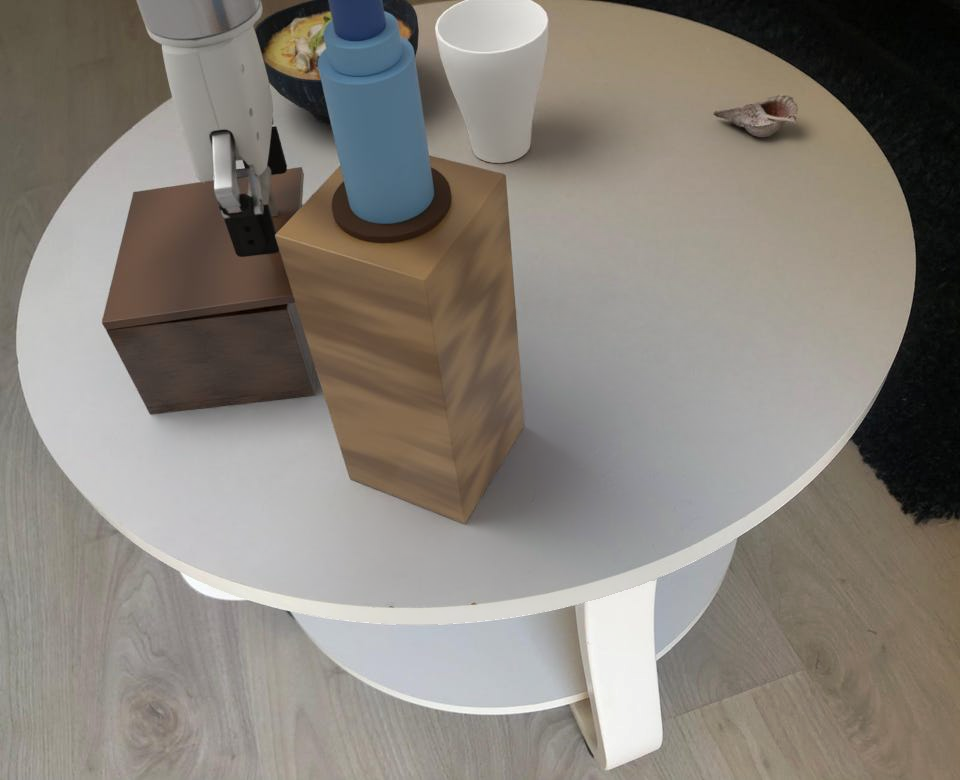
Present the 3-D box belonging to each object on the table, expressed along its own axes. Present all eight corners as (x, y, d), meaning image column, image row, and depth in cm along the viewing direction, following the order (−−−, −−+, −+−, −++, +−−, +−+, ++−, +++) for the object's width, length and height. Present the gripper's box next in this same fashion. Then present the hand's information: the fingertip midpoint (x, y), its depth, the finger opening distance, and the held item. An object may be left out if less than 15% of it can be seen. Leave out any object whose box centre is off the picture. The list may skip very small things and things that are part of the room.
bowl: (272, 73, 114) (250, -10, 106) (420, 52, 114) (408, -33, 107) (271, 161, 103) (246, 75, 95) (435, 137, 103) (423, 50, 96)
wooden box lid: (304, 174, 83) (287, 119, 79) (296, 302, 73) (276, 247, 69) (136, 199, 84) (111, 146, 80) (105, 330, 74) (74, 277, 70)
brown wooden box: (319, 267, 91) (296, 181, 84) (314, 395, 81) (287, 310, 74) (173, 284, 91) (136, 199, 84) (149, 414, 81) (105, 330, 74)
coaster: (414, 255, 55) (413, 249, 55) (309, 225, 57) (308, 218, 57) (472, 182, 59) (471, 175, 58) (372, 157, 61) (371, 150, 61)
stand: (465, 524, 72) (424, 280, 54) (348, 478, 75) (274, 235, 57) (524, 425, 77) (506, 173, 59) (414, 387, 81) (364, 138, 63)
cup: (572, 153, 99) (570, 28, 89) (480, 190, 97) (467, 66, 87) (520, 104, 106) (512, -17, 96) (432, 138, 103) (415, 16, 93)
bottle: (407, 233, 56) (369, 15, 46) (332, 212, 57) (280, -2, 47) (449, 181, 58) (422, -35, 48) (377, 162, 60) (336, -49, 50)
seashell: (787, 144, 100) (777, 156, 97) (716, 111, 102) (705, 122, 99) (807, 103, 97) (798, 114, 94) (734, 70, 99) (723, 80, 96)
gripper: (159, -57, 69) (225, 151, 82) (117, 75, 57) (202, 293, 70) (266, -69, 69) (316, 141, 82) (246, 60, 57) (308, 281, 70)
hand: (263, 211), depth 76 cm, fingers open, 9 cm apart
